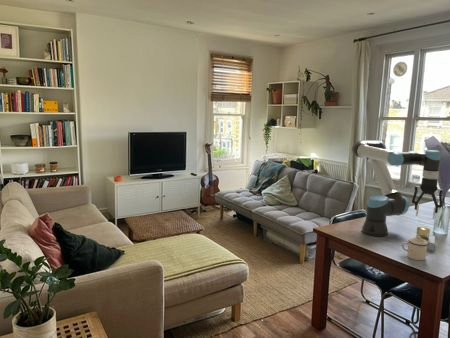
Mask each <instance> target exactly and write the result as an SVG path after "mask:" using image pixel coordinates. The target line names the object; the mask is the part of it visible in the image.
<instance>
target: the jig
mask: <svg viewBox="0 0 450 338" xmlns="http://www.w3.org/2000/svg"><path fill="white" fill-rule="evenodd" d="M416 234H417V232H410V237H409V239H410V238H415V237H417V236H416ZM423 240H424V239H423ZM435 240H436V237H435V236H434V235H429V239H427V240H425V241H427V242H428V245H427V251H432V252H434V247H435Z"/></svg>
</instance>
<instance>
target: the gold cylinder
mask: <svg viewBox="0 0 450 338" xmlns="http://www.w3.org/2000/svg"><path fill="white" fill-rule="evenodd" d="M430 232H431V229H430V228H429V227H427V226H417V227H416V233H417V234H416V236H420V237H421V238H422V239H424V240H427V239H429V236H430Z"/></svg>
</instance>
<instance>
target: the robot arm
mask: <svg viewBox="0 0 450 338" xmlns="http://www.w3.org/2000/svg"><path fill="white" fill-rule="evenodd" d="M351 152H352V154H353V155H354V156H355V157H356V158H360V159H365V158H366V160H367V162H368V163H370V164H371V165H370V166H371V167H372V170H373V173H374V175H375V177H376V180H377V183H378V186H379V188H380V191H381V193H382V195H381V194H380V195H379V194H375V195H371V196H369V197H368V198H367V201H366V211H365V212H366V213H365V214H366V215H365V220H364V223H363V225H362V227H361V232H362V233H363V234H365V235H368V236H371V237H380V238H381V237H387V236H388V233H389V229H388V226H387V217H391V216H402V215H406V213H408V211H409V208H410V203H409V202H410V201H409V200H408V198H407V197H405V196H402V193H401V192H400V191H398V190H397V188H396V186H395V183H394V181H393V178H392V175H391V173H390V171H389V167H388V166H387V164H389V165H390V166H395V167H398V166H414V165H417V166H421V167H423V168H422V178H421V184H420V185H415V187H414V193H413V196H412V199H411V203H412V204H414V210H416V212H415V216H416V217H418V216H419V208H420V204H419V203H420V202H421V201H420V200H421V199H422V198H423V196H424V195H429V196H430V195H431V198H432V200H433V203H434V207H433V213H432V219H435V217H436V214H438V213H439V208H442V207H443V191H444V190H443V188H438V181H439V180H438V179H439V173H440V171H439V170H440V165H441V157H442V156H441V155H442V153H441V151H440V150H437V149H435V150H434V149H427V150H425V152H422V151H418V150H409V151H406V152H405V151H403V152H402V151H395V150H391V149H387V147H386V144H385V143H384V142H383V141H382V140H377V139H372V140H358V141H356V142H354V144H353V145H352V147H351ZM386 163H387V164H386ZM419 190H421V191H422V192H421V194H420V195H419V196H418V198H417V199H416V197H417V194H418V191H419ZM436 192H437V193H438V200H439V201H438V200H437V198H436V197H437V196H436V194H435V193H436ZM438 202H439V204H438Z"/></svg>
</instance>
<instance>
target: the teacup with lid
mask: <svg viewBox="0 0 450 338" xmlns="http://www.w3.org/2000/svg"><path fill="white" fill-rule="evenodd" d="M405 244H406V245H408V246H407V249H406V248H405V247H404V245H405ZM427 245H428V242H427V241H425V240H423V239H422V238H421V237H420V236H417V237H415V238H410V237H409V238H408V241H403V242H402V243H401V248H402V250H404V251H405V252H407V257H408V258H410V259H412V260H414V261H424V260H426V259H427V252H428V250H427Z"/></svg>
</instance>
